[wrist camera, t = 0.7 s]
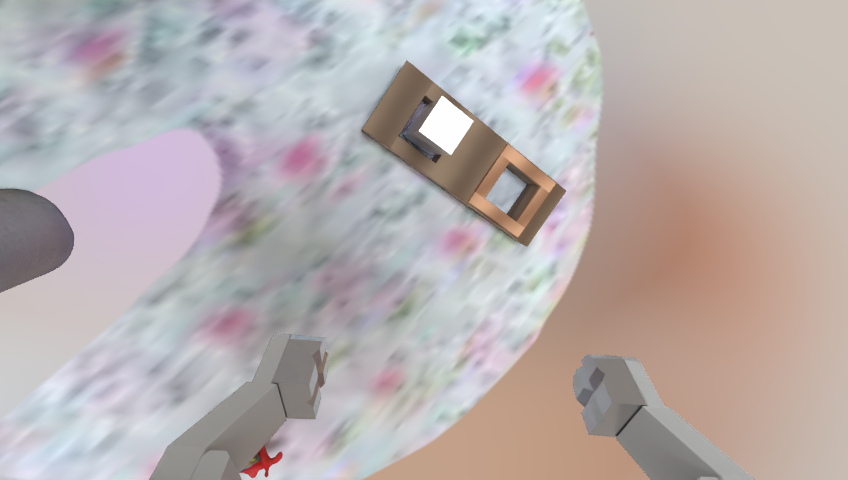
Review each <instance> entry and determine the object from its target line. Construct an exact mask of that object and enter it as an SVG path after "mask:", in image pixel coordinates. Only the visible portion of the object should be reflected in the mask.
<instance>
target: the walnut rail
mask: <svg viewBox="0 0 848 480" xmlns="http://www.w3.org/2000/svg"><path fill="white" fill-rule="evenodd" d="M441 96H443V97H444V98H445V99H447V100H448V101H449V102H450V103H452V104H453V105H454V106H455V107H457V108H458V109H459V110H460V111H462V112H463V113H464V114H465V115H466V116H468V117H469V118H470V119H471V120H473V123H472V124H471V126H470V127H469V129H468V130H467V132H466V133H465V135H464V136H463V138H462V139H461V141H460V142H459V144H458V145H457V147H456V148H455V150H454V151H453V153H452V154H451V155H435V157H434V158H433V160H430V159H429V158H428V157H426V156H425V155H424V154H422V153H421V152H420V151H418V150H417V149H415V148H414V147H413V146H411V145H410V144H409V143H407V142H406V141H405V140H403V139H402V138H400V137H399V134H400V133H401V131H402V130H403V128H404V127H405V125H406V124H407V122H408V121H409V119H410V118H411V116H412V115H413V113H414V111H415V110H416V108H417V107H418V105H419V104H420V102H421V101H423V102H424V103H425V104H427V105H428V104H429V103H431V102H433V101H434V100H436V99H438V98H440V97H441ZM361 131H362V132H364V133H365V134H367V135H368V136H369V137H371V138H372V139H374V140H375V141H377V142H378V143H379V144H381V145H382V146H384V147H385V148H386V149H388V150H389V151H391V152H392V153H393V154H395V155H396V156H398V157H399V158H400V159H402V160H403V161H405V162H406V163H407V164H409V165H410V166H412V167H413V168H414V169H416V170H417V171H419V172H420V173H421V174H423V175H424V176H426V177H427V178H428V179H430V180H431V181H433V182H434V183H435V184H437V185H438V186H440V187H441V188H442V189H444V190H445V191H447V192H448V193H450V194H451V195H452V196H454V197H455V198H457V199H458V200H459V201H461V202H462V203H464V204H465V205H466V206H468V207H469V208H471V209H472V210H473V211H475V212H476V213H478V214H479V215H480V216H482V217H483V218H485V219H486V220H487V221H489V222H490V223H492V224H493V225H494V226H496V227H497V228H499V229H500V230H501V231H503V232H504V233H506V234H507V235H508V236H510V237H511V238H513V239H514V240H515V241H517V242H519V243H521V244H523V245H525V246H528V245H529V243H530V242H531V240H532V239H533V238H534V236H535V235H536V233H537V232H538V230H539V229H540V228H541V226H542V225H543V223H544V222H545V221H546V219H547V218H548V216H549V215H550V213H551V212H552V211H553V209H554V208H555V206H556V205H557V204H558V202H559V201H560V199H561V198H562V196H563V195H564V194H565V192H566V190H565V189H563V188H562V187H561V186H560V185H559V184H557V183H556V182H555V181H554V180H552V179H551V178H550V177H549V176H548V175H546V174H545V173H544V172H543V171H541V170H540V169H539V168H538V167H537V166H535V165H534V164H533V163H532V162H530V161H529V160H528V159H527V158H526V157H524V156H523V155H522V154H521V153H519V152H518V151H517V150H516V149H515V148H513V147H512V146H511V145H510V144H508V143H507V142H506V141H505V140H504V139H502V138H501V137H500V136H499V135H497V134H496V133H495V132H494V131H493V130H491V129H490V128H489V127H488V126H486V125H485V124H484V123H483V122H482V121H480V120H479V119H478V118H477V117H475V116H474V115H473V114H472V113H471V112H469V111H468V110H467V109H466V108H464V107H463V106H462V105H461V104H460V103H458V102H457V101H456V100H455V99H453V98H452V97H451V96H450V95H449V94H447V93H446V92H445V91H444V90H442V89H441V88H440V87H439V86H438V85H436V84H435V83H434V82H433V81H431V80H430V79H429V78H428V77H427V76H425V75H424V74H423V73H422V72H420V71H419V70H418V69H417V68H416V67H414V66H413V65H412V64H411V63H409V62H408V61H406V62H405V64H404V65H403V67H402V68H401V70H400V71H399V73H398V75H397V76H396V78H395V79H394V81H393V82H392V84H391V85H390V87H389V89H388V90H387V92H386V93H385V95H384V96H383V98H382V99H381V101H380V102H379V104H378V106H377V107H376V109H375V110H374V112H373V113H372V115H371V116H370V118H369V120H368V121H367V123H366V124H365V126H364V127H363V129H362V130H361ZM506 167H507V168H508V169H509V170H510V171H512V172H513V173H514V174H515V175H517V176H518V177H519V178H520V179H522V180H523V181H524V182H526V183H527V186H526V187H525V189H524V190H523V192H522V193H521V195H520V196H519V197H518V199H517V200H516V202H515V203H514V205H513V206H512V207H511V209H510V210H509V212H508V213H507V215H506V214H505V213H504V212H502V211H501V210H500V209H498V208H497V207H495V206H494V205H493V204H491V203H490V202H489V201H487V200H486V199H485V197H486V196H487V194H488V193H489V192H490V190H491V189H492V187H493V186H494V184H495V183H496V181H497V180H498V178H499V177H500V175H501V174H502V173H503V171H504V170H505V168H506Z"/></svg>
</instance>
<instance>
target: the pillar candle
mask: <svg viewBox="0 0 848 480" xmlns="http://www.w3.org/2000/svg"><path fill="white" fill-rule="evenodd" d="M73 245H74V234H73V231H72V229H71V227H70V225H69V223H68V221H67V220H66V218H65V217H64V215H63V214H62V213H61V211H60V210H59V209H58V208H57V207H56V206H55V205H54V204H53V203H51V202H50V201H49V200H47V199H46V198H44V197H42V196H39V195H37V194H34V193H32V192H29V191H24V190H18V189H0V293H1V292H3V291H5V290H8V289H10V288H12V287H14V286H17V285H20V284H22V283H25V282H27V281H29V280H32V279H34V278H36V277H39V276H42V275H44V274H46V273H49V272H51V271H53V270H55V269H56V268H58V267H59V266H61V265H62V264H63V263H64V262H65V261H66V260H67V259H68V257H69V256H70V254H71V251H72V249H73Z"/></svg>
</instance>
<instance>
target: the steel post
mask: <svg viewBox="0 0 848 480" xmlns="http://www.w3.org/2000/svg"><path fill="white" fill-rule="evenodd" d="M472 123H473V120H471V119H470V118H469V117H468V116H466V115H465V114H464V113H463V112H462V111H460V110H459V109H458V108H457V107H455V106H454V105H453V104H452V103H450V102H449V101H448V100H447V99H445V98H444V97H443V96H441V97H440V98H438V99H436V100H434V101H433V102H431V103H429V104H428V105H426V106H424V107H422V108H421V109H420V111H419V112H418V114H417V115H416V117H415V119H414V120H413V122H412V123H411V125H410V126H409V128H408V129H407V131H406V132H405V134H404V135H403V136H404V137H406V138H407V139H408V140H410V141H411V142H412V143H414V144H415V145H417V146H418V147H419V148H421V149H422V150H423V151H425V152H426V153H427V154H429V155H451V154H452V153H453V151H454V150H455V148H456V147H457V145H458V144H459V142H460V141H461V139H462V138H463V136H464V135H465V133H466V132H467V130H468V129H469V127H470V126H471V124H472Z"/></svg>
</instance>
